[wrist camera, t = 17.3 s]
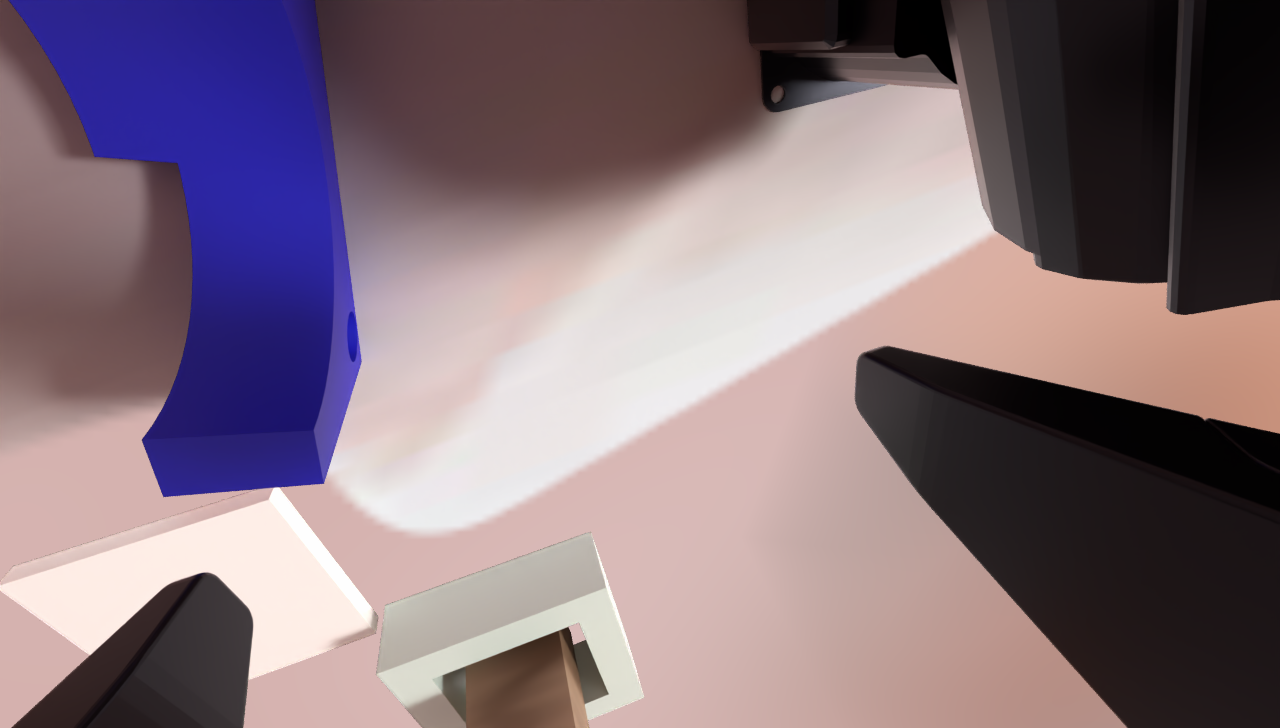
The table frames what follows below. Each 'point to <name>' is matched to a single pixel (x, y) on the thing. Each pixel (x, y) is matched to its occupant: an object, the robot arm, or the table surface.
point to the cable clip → (230, 220)
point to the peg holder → (506, 631)
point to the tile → (195, 543)
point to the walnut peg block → (527, 687)
